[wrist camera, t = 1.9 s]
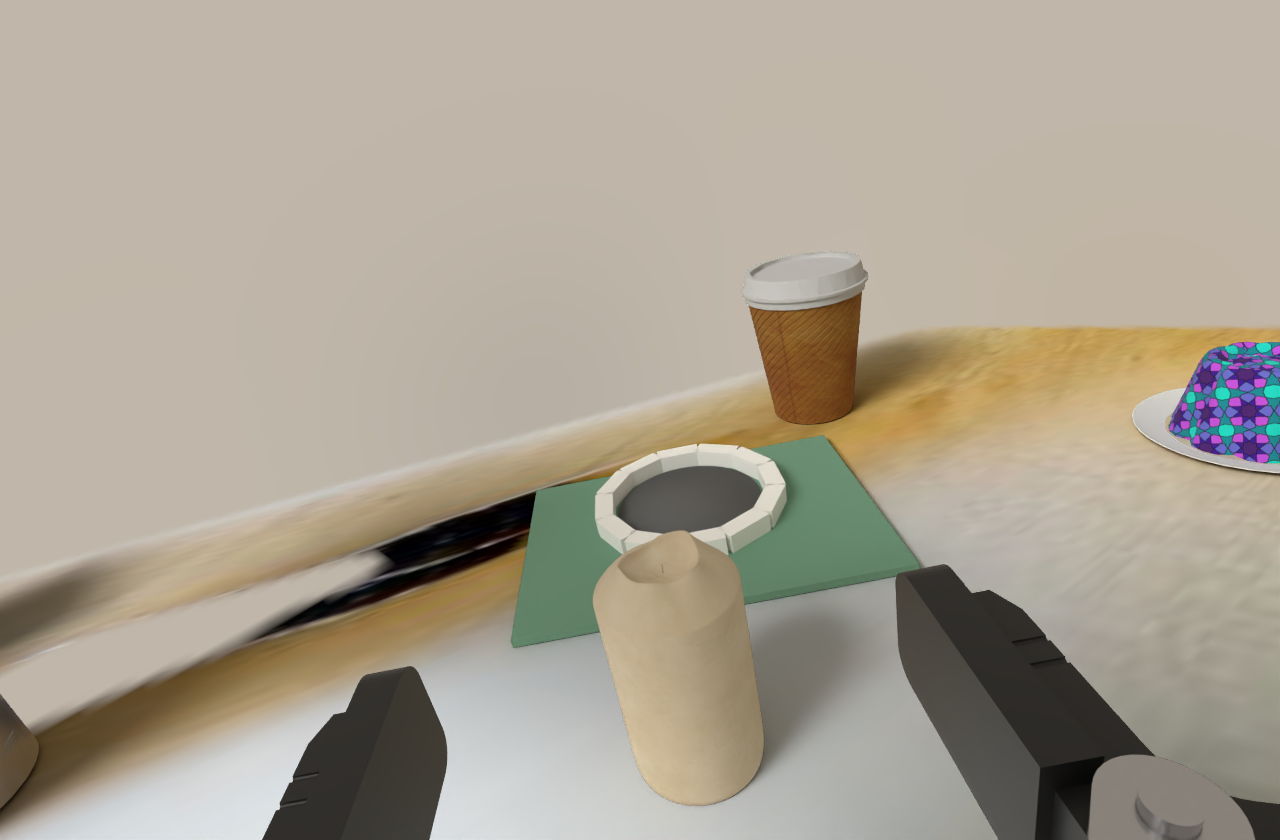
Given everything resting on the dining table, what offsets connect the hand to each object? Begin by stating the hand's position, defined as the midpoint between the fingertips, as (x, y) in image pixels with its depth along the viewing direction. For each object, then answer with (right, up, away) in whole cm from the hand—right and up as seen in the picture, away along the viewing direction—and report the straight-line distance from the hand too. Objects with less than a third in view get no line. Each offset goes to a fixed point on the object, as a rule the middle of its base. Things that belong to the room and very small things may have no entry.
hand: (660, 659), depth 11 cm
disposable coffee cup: (+14, +5, +44) cm, 46 cm away
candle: (+2, -10, +17) cm, 20 cm away
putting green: (+3, -3, +31) cm, 32 cm away
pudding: (+38, +3, +30) cm, 48 cm away
